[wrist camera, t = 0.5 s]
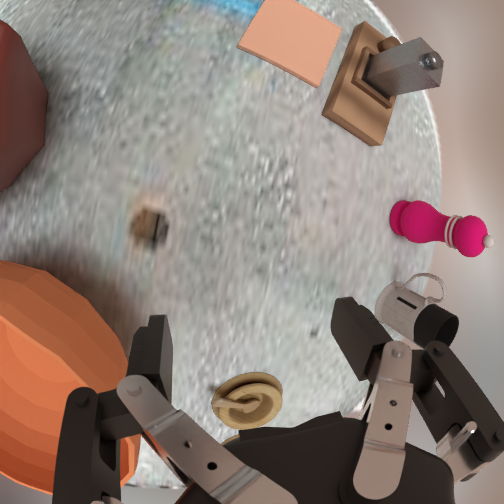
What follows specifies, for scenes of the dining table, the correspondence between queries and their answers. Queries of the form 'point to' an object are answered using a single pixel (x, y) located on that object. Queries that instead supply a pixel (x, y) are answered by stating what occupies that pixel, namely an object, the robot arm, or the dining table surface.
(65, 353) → the bowl
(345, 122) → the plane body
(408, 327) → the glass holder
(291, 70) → the coaster
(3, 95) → the bucket
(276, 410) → the tableware set
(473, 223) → the pepper mill
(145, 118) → the dining table surface
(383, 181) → the dining table surface
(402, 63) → the grey square grinder
